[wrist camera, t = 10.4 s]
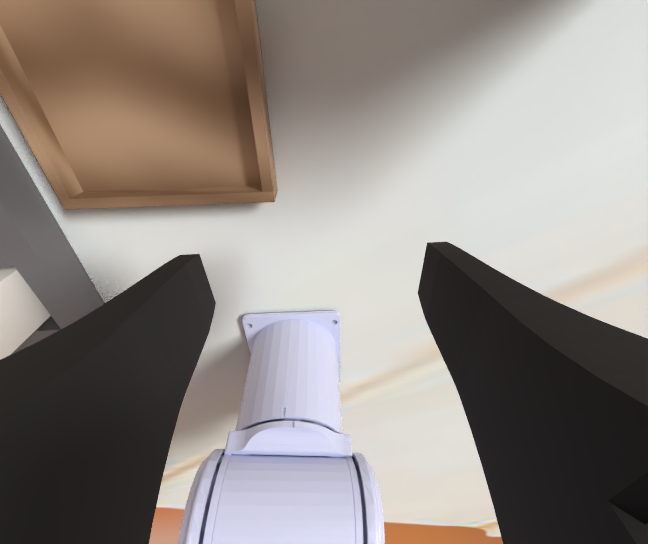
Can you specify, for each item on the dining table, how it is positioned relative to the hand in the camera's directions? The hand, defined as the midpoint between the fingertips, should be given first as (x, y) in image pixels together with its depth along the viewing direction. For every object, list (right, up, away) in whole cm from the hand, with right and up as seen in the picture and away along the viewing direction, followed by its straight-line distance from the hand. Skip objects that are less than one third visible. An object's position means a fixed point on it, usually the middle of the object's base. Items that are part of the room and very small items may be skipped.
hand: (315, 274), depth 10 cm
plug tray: (-9, +10, +6) cm, 14 cm away
